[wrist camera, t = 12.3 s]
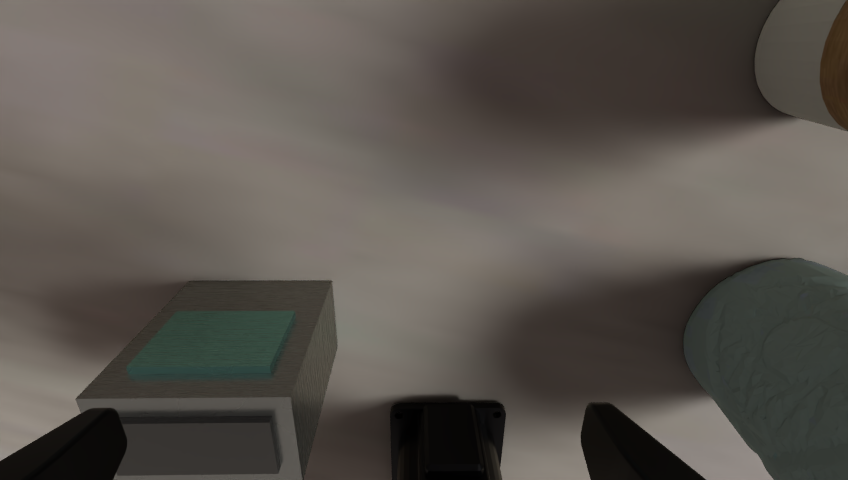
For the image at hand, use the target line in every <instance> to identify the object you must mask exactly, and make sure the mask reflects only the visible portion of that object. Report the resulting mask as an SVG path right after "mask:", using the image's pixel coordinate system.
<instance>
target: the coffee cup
mask: <svg viewBox="0 0 848 480" xmlns="http://www.w3.org/2000/svg"><path fill="white" fill-rule="evenodd" d="M755 76H756V80H757V84H758V87H759V89H760V91H761V93H762V95H763V97H764V98H765V99H766V100H767V101H768V102H769V104H770V105H771V106H773V107H774V108H776V109H777V110H779V111H780V112H783V113H786V114H789V115H792V116H795V117H798V118H801V119H805V120H808V121H812V122H815V123H819V124H823V125H826V126H830V127H833V128H837V129H841V130H844V131H848V0H780V1H779V2H778V3H777V5H776V6H775V8H774V9H773V10H772V12H771V13H770V15H769V17H768V19H767V21H766V23H765V24H764V26H763V29H762V31H761V34H760V37H759V40H758V42H757V47H756V53H755Z"/></svg>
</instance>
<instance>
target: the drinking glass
mask: <svg viewBox="0 0 848 480" xmlns="http://www.w3.org/2000/svg"><path fill="white" fill-rule="evenodd" d="M683 347H684V355H685V358H686V361H687V365H688V367H689V369H690V371H691V372H692V374H693V375H694V377H695V378H696V379H697V381H698V382H699V383H700V385H701V386H702V387H703V388H704V389H705V390H706V391H707V392H708V393H709V394H710V396H711V397H712V398H713V399H714V401H715V402H716V404H717V405H718V406H719V408H720V409H721V410H722V412H723V413H724V414H725V416H726V417H727V418H728V420H729V421H730V422H731V424H732V425H733V426H734V428H735V429H736V430H737V432H738V433H739V434H740V436H741V437H742V438H743V440H744V441H745V442H746V444H747V445H748V446H749V447H750V448H751V449H752V450H753V451H754V452H755V453H757V454H758V455H759V457H760V459H761V460H762V462H763V464H764V467H765V468H766V470H767V472H768V473H769V474H770V475H771V476H772V478H773V479H774V480H848V275H845V274H843V273H841V272H838V271H836V270H834V269H831V268H829V267H827V266H824V265H821V264H819V263H816V262H812V261H806V260H804V259H802V258H793V259H790V260H788V259H785V258H783V259H780V260H771V261H768V262H763V263H760V264H758V265H753V266H751V267H748V268H746V269H744V270H742V271H740V272H736V273H735V274H734V275H733V276H731V277H727V278H726V279H725V280H723V281H722V282H720V283H719V284H717V285H716V286H715V287H714V288H713V289H712V290H710V291H709V292H708V293H707V295H706V296H705V297H704V298H703V299H702V300H701V301H700V303H699V304H698V305H697V307H696V308H695V310H694V311H693V313H692V314H691V316H690V318H689V321H688V323H687V325H686V329H685V333H684V338H683Z"/></svg>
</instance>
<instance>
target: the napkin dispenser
mask: <svg viewBox="0 0 848 480" xmlns="http://www.w3.org/2000/svg"><path fill="white" fill-rule="evenodd" d="M336 351H337V336H336V324H335V313H334V301H333V289H332V281H189V282H188V283H187V284H186V285H185V286H184V287H183V288H182V289H181V291H180V292H179V293H178V294H177V295H176V296H175V297H174V298H173V299H172V300H171V301H170V302H169V303H168V304H167V305H166V306H165V307H164V308H163V309H162V310H161V311H160V312H159V313H158V314H157V315H156V316H155V317H154V318H153V319H152V320H151V321H150V323H149V324H148V325H147V326H146V327H145V328H144V329H143V330H142V331H141V332H140V333H139V334H138V335H137V336H136V337H135V338H134V339H133V340H132V341H131V342H130V343H129V344H128V345H127V346H126V347H125V348H124V349H123V350H122V351H121V352H120V353H119V355H118V356H117V357H116V358H115V359H114V360H113V361H112V362H111V363H110V364H109V365H108V366H107V367H106V368H105V369H104V370H103V371H102V372H101V373H100V374H99V375H98V376H97V377H96V378H95V379H94V380H93V381H92V382H91V383H90V384H89V385H88V387H87V388H86V389H85V390H84V391H83V392H82V393H81V394H80V395H79V396H78V397H77V398H76V402H77V404H78V407H79V409H80V412H81V413H83V412H84V411H86V410H88V409H91V408H114V409H115V410H116V411H117V412H118V414H119V417H120V419H121V422H122V425H123V428H124V431H125V434H126V436H127V449H126V452H125V455H124V457H123V459H122V462H121V464H120V466H119V468H118V470H117V472H116V475H115V477H114V479H113V480H303V478H304V475H305V471H306V467H307V463H308V459H309V455H310V451H311V447H312V444H313V440H314V436H315V432H316V428H317V424H318V420H319V416H320V413H321V409H322V405H323V401H324V397H325V393H326V389H327V385H328V382H329V378H330V374H331V370H332V366H333V362H334V358H335V354H336Z"/></svg>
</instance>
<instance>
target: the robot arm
mask: <svg viewBox="0 0 848 480" xmlns="http://www.w3.org/2000/svg"><path fill="white" fill-rule="evenodd" d="M496 411H499V412H497V413H494V412H496ZM397 412H401V414H398V413H397ZM505 417H506V413H505V408H504V406H503V405H502V404H500V403H399V404H395V405H393V406H392V407H391V412H390V424H391V458H392V480H502V476H501V471H500V464H501V455H502V445H503V436H504V427H505ZM581 445H582V449H583V453H584V457H585V460H586V464H587V468H588V471H589V475H590V479H591V480H706V479H705V478H703V477H702V476H701V475H700V474H698V473H697V472H696V471H695V470H693V469H692V468H691V467H690V466H688V465H687V464H686V463H685V462H683V461H682V460H681V459H680V458H678V457H677V456H676V455H675V454H673V453H672V452H671V451H670V450H668V449H667V448H666V447H665V446H663V445H662V444H661V443H660V442H658V441H657V440H656V439H655V438H653V437H652V436H651V435H650V434H648V433H647V432H646V431H645V430H643V429H642V428H641V427H640V426H639V425H637V424H636V423H635V422H634V421H632V420H631V419H630V418H629V417H627V416H626V415H625V414H624V413H622V412H621V411H620V410H619V409H617V408H616V407H615V406H614V405H612V404H610V403H607V402H600V403H589V404H588V405H587V407H586V410H585V415H584V420H583V425H582V430H581ZM126 449H127V436H126V434H125V431H124V428H123V425H122V422H121V419H120V417H119V414H118V412H117V411H116V410H115V409H114V408H91V409H88V410H86V411H84V412H83V413H81V414H79V415H78V416H76V417H74V418H72V419H71V420H69V421H67V422H66V423H64V424H62V425H61V426H59V427H57V428H56V429H54V430H52V431H50V432H49V433H47V434H45V435H44V436H42V437H40V438H39V439H37V440H35V441H34V442H32V443H30V444H28V445H27V446H25V447H23V448H22V449H20V450H18V451H17V452H15V453H13V454H11V455H10V456H8V457H6V458H5V459H3V460H1V461H0V480H113V479H114V477H115V475H116V472H117V470H118V468H119V466H120V464H121V462H122V459H123V457H124V455H125V452H126Z"/></svg>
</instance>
